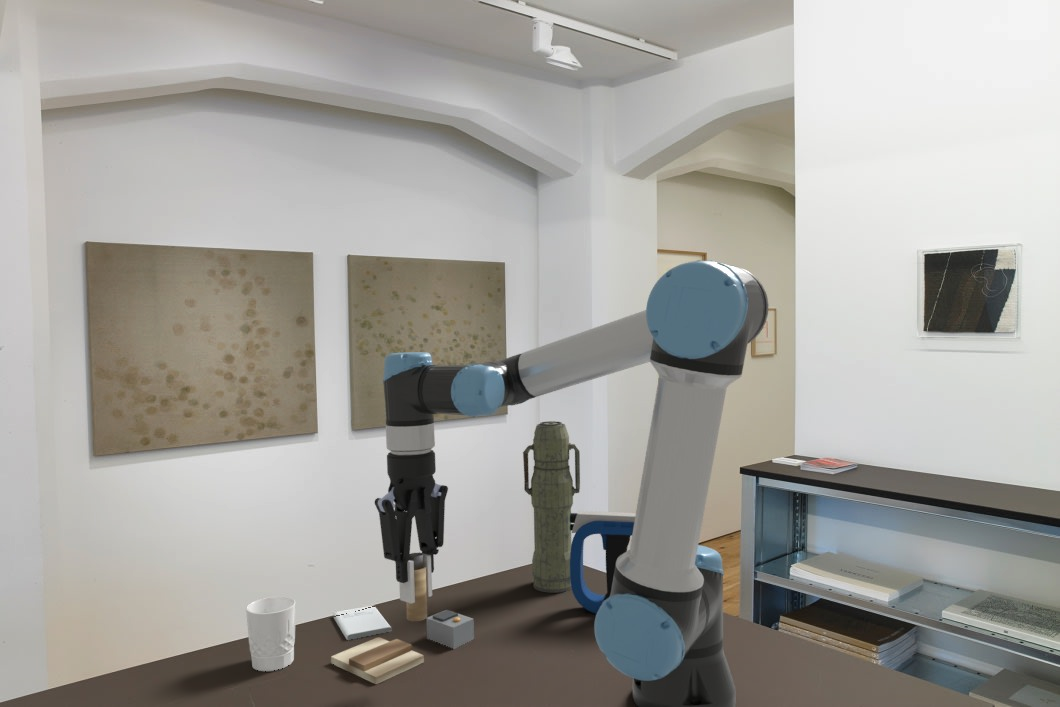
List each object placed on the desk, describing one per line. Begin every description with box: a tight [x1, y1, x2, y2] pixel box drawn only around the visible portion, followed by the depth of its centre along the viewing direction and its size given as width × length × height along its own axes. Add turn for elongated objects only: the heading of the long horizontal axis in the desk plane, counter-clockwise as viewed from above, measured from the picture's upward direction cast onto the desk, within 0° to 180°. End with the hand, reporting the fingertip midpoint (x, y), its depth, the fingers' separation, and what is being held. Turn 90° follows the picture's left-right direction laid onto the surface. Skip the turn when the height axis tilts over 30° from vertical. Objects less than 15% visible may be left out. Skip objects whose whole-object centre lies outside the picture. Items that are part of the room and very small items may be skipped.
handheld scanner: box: [570, 510, 636, 615], centre depth 150 cm, size 5×16×20 cm, turn 78°
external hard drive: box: [332, 605, 392, 641], centre depth 147 cm, size 2×8×12 cm
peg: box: [405, 552, 428, 622], centre depth 123 cm, size 3×3×10 cm
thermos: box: [522, 420, 581, 594], centre depth 165 cm, size 9×12×35 cm
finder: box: [425, 609, 475, 650], centre depth 139 cm, size 7×5×4 cm
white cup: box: [245, 596, 296, 672], centre depth 131 cm, size 8×8×10 cm
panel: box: [330, 636, 425, 685], centre depth 130 cm, size 12×10×2 cm
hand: (416, 597), depth 123 cm, fingers closed on peg, 3 cm apart
